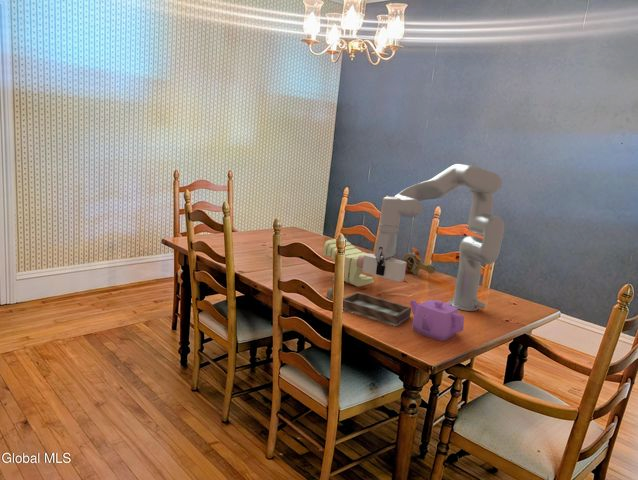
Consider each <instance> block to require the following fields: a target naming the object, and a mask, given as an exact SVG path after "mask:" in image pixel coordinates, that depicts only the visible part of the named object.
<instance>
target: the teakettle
mask: <svg viewBox="0 0 638 480" xmlns="http://www.w3.org/2000/svg"><path fill="white" fill-rule="evenodd" d="M409 303H410V305H411V306H410V307H411V311H412V313H413V319H412V324H411V325H412V330H413V331H414V332H416V333H418V334H421V335H422V334H423V335H422V336H425V337H427V336H428V338H431V339H434V340H436V341H439V340H440V342H445V341H447V340H449V339H452V338H453V337H454V336H455V335H456V334H457V333H459V332H463V331H464V326H465V325H464V323H465V316H464V315H462V314H460V313H459V309H457V308H455V307H453V306H452V304H450V303H449V302H444V301H442V300H439V299H437V300H436V299H435V300H434V299H429V300H426V301H423V302H421V303H419V304H418V303H417V300H409Z"/></svg>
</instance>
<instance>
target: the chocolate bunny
mask: <svg viewBox="0 0 638 480" xmlns="http://www.w3.org/2000/svg"><path fill="white" fill-rule="evenodd" d="M334 278H335V277H333V278H331V279H332V280H331V283H332V285H333V284H334ZM326 293H327V294H326V295H327V297H329V298H330V299H329V298H328V299H329V300H331V299H333V287H331V288H329V289H327V292H326ZM326 295H325V296H326ZM327 297H326V298H327Z"/></svg>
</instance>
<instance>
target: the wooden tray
mask: <svg viewBox="0 0 638 480" xmlns="http://www.w3.org/2000/svg"><path fill="white" fill-rule="evenodd" d="M342 299H343V309H344V310H343V311H345V310H346V311H345V312H348V311H350V312H349V313H351V312H353V313H352V314H354V313H356V314H355V315H357V314H359V315H358V316H360V315H362V316H361V317H364V316H365V317H364V318H367V317H369V318H368V319H370V318H372V319H371V320H373V319H375V320H374V321H376V320H378V321H377V322H379V321H381V322H380V323H382V322H384V323H383V324H386V323H387V324H386V325H389V324H390V325H389V326H392V325H393V326H392V327H395V326H396V327H397V326H399V325H400V324H402V323H403V322H404V321H406V320H408V319H409V318H410V317H411V313H412V312H411V311H412V307H411V306H407V305H404V304H401V303H397V302H393V301H389V300H386V299H383V298H379V297H378V296H373V295H370V294H366V293H362V292H359V291H356V292H354V293H352V294H350V295H347V296H345V297H343V298H342Z"/></svg>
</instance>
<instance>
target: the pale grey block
mask: <svg viewBox="0 0 638 480" xmlns="http://www.w3.org/2000/svg"><path fill="white" fill-rule="evenodd" d="M381 257H382V258H383V256H381ZM381 260H382V262H383V259H381ZM406 263H407V262H405V261H403V260H400V259H395V258H386V260H385V264H384V266H385V270H384V275H383V276H381V275H377V274H376V269H377V260H376V257H375V255H374V253H368V254H367V255H364V256H362V255H360V256H359V257H358V259H357V267H359V268H363V269H362V271H361V272H362V274H363V273H364V274H368V275H372V276H376V277H379V278H384V279H387V280H391V281H394V282H401V281H403V280H405V277H406V276H405V275H406V272H405V270H406Z"/></svg>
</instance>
